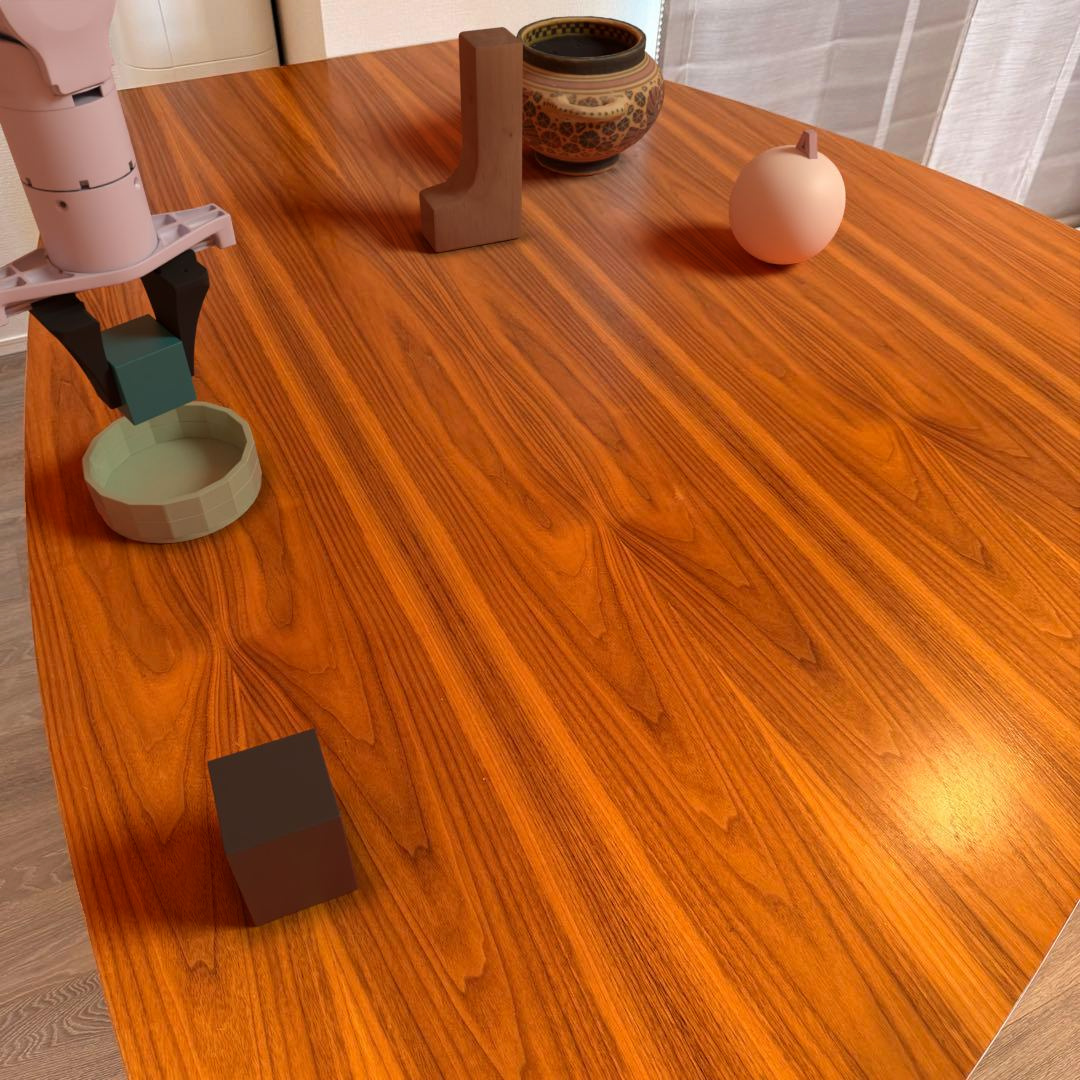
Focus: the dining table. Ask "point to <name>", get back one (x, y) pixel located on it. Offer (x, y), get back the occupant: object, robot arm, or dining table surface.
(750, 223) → the ornament
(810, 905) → the dining table surface
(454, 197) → the wooden block
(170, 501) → the dish
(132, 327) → the teal block
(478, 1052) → the dining table surface
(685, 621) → the dining table surface
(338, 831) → the dark brown block
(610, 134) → the ceramic bowl
